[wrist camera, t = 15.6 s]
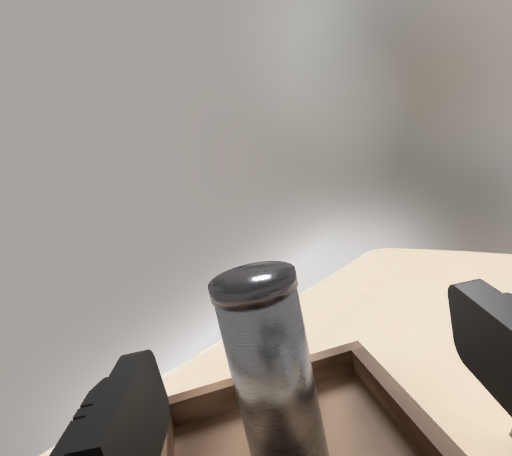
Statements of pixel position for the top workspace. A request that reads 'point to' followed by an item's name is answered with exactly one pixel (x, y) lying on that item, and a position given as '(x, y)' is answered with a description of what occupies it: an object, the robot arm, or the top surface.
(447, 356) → the top surface
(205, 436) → the walnut tray
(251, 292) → the steel canister
